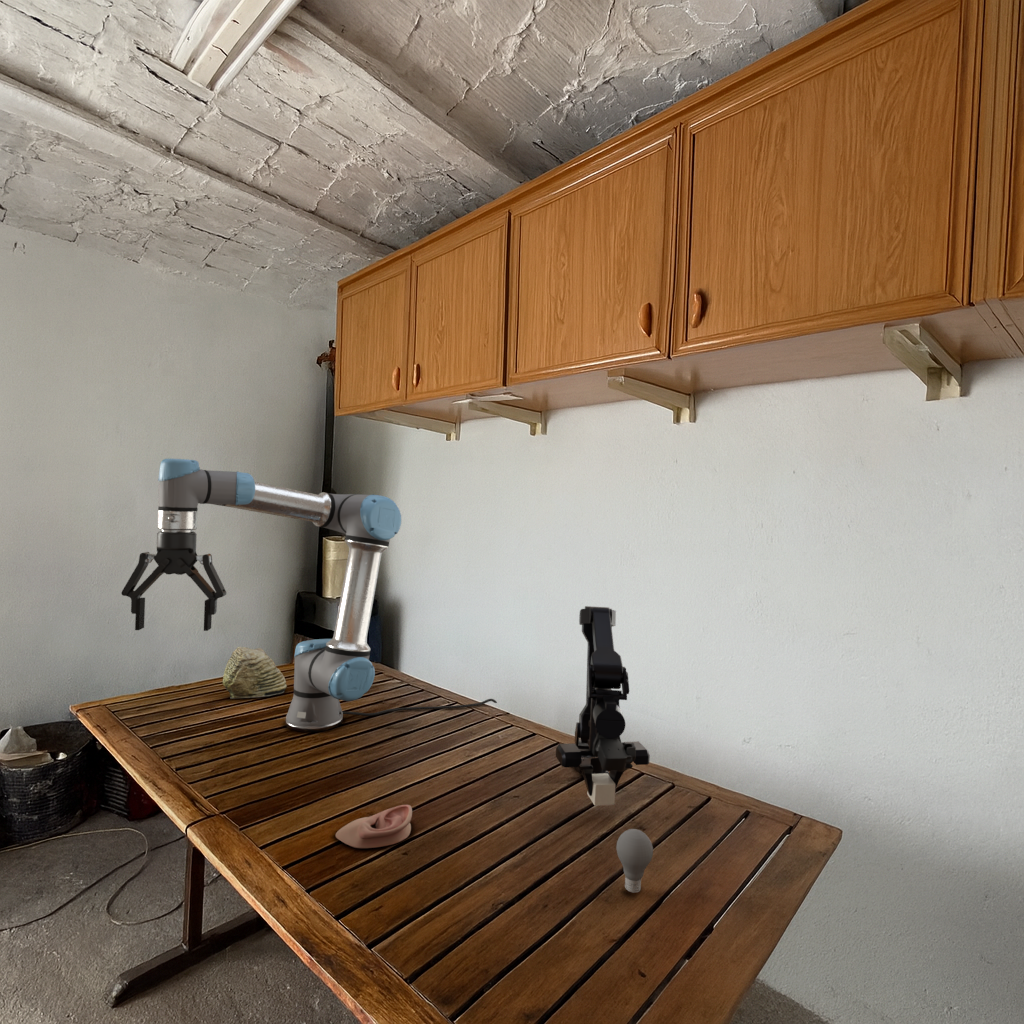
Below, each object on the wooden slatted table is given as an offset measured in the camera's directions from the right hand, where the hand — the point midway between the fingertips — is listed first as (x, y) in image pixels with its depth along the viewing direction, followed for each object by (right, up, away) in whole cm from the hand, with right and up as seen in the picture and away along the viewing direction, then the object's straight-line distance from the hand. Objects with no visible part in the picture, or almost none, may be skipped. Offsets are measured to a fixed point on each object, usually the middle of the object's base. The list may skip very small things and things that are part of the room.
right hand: (600, 794), depth 132 cm
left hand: (-91, +34, +4) cm, 97 cm away
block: (0, -1, 0) cm, 1 cm away
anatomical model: (-45, -2, -12) cm, 46 cm away
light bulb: (+2, -5, -26) cm, 27 cm away
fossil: (-99, +2, +66) cm, 119 cm away
